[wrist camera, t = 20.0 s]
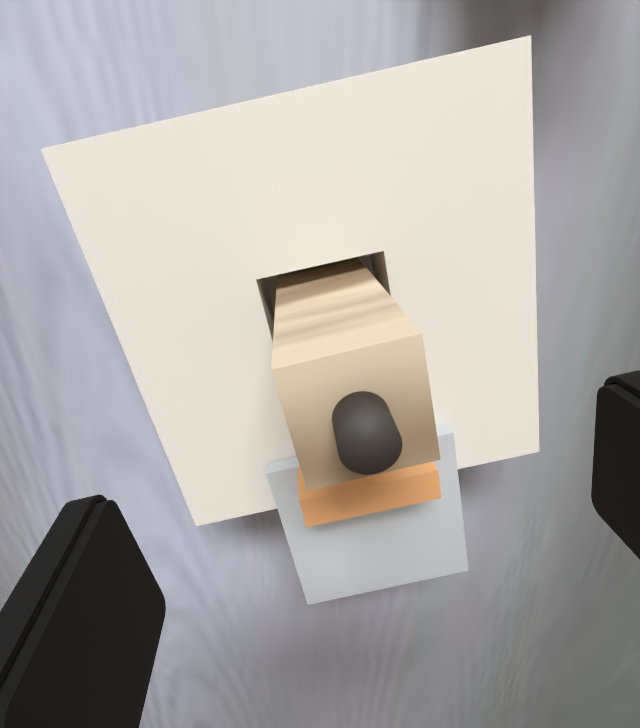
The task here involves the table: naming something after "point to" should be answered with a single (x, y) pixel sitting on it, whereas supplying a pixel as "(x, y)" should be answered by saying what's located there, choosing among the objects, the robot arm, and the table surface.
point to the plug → (350, 375)
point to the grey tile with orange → (373, 526)
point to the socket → (318, 252)
